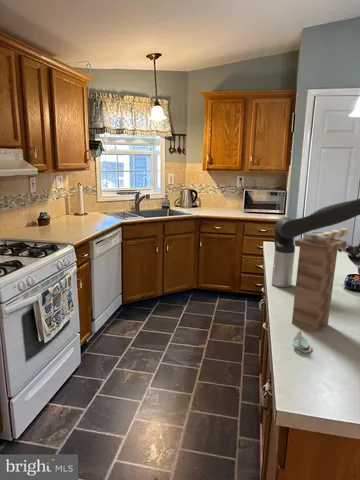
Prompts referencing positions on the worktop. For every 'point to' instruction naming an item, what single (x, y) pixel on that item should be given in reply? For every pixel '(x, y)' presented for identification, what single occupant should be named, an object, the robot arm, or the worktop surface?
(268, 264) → the worktop surface
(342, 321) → the worktop surface
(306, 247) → the stand
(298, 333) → the pacifier
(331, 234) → the beige block
